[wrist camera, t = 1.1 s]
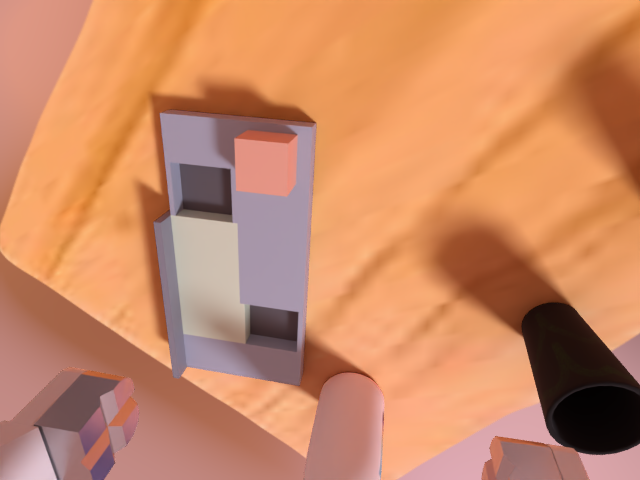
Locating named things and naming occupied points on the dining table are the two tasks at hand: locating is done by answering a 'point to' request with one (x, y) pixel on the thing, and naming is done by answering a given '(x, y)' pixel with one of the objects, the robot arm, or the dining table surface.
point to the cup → (580, 383)
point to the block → (266, 162)
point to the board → (233, 251)
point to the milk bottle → (347, 430)
